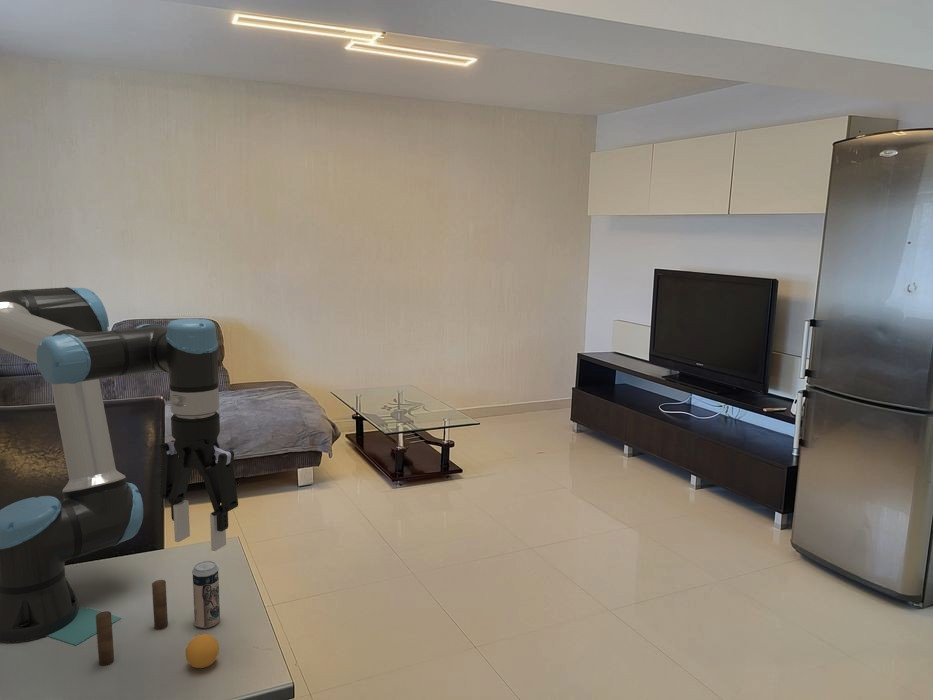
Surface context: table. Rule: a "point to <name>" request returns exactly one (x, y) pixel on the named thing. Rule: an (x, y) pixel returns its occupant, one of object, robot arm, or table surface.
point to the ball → (202, 651)
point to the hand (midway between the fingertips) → (200, 542)
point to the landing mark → (80, 627)
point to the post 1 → (104, 638)
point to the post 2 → (159, 604)
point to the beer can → (206, 594)
